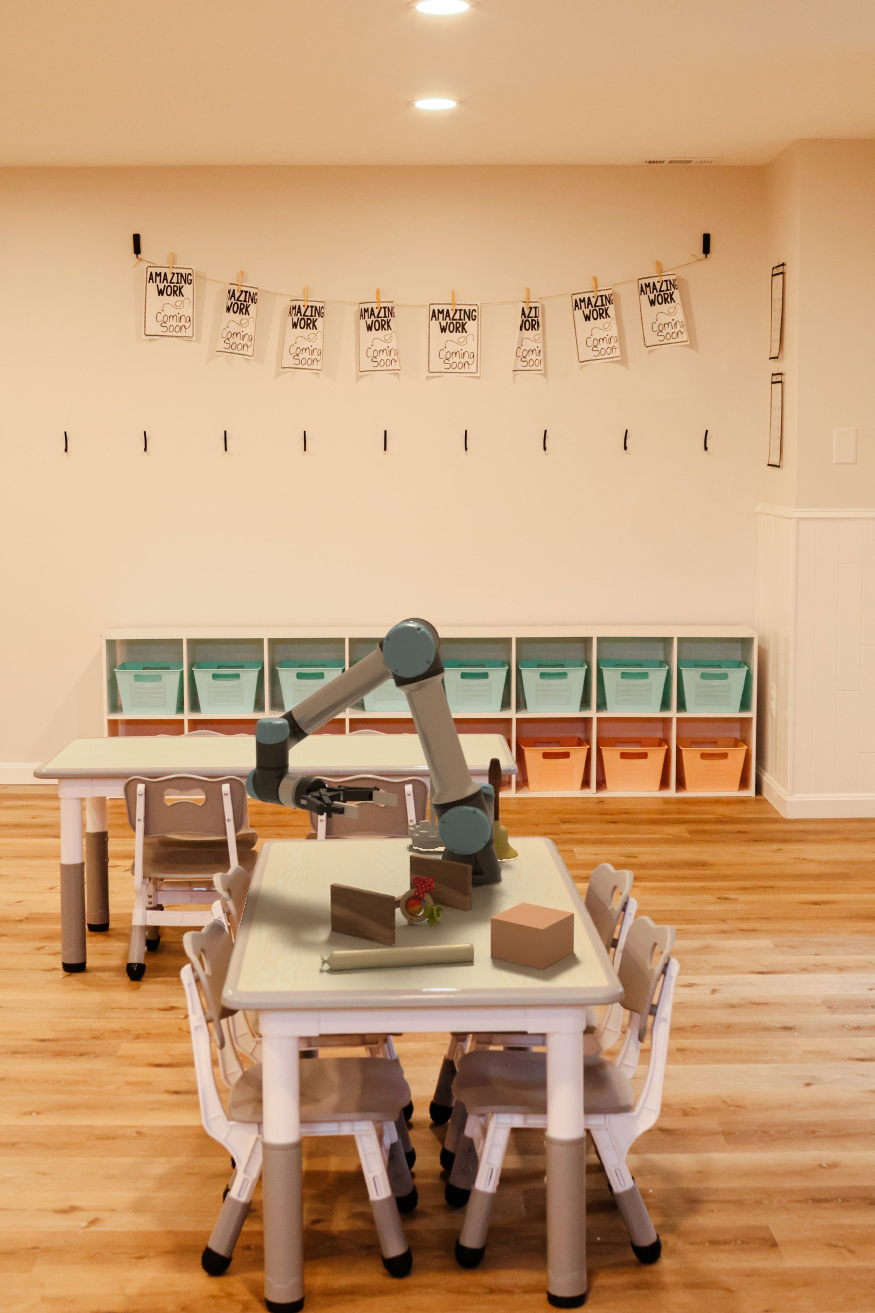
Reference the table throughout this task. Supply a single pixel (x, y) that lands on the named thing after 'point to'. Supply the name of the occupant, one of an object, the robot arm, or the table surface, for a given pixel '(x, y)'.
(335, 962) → the tan piece
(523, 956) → the terracotta stand
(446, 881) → the walnut slot
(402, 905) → the bird rattle
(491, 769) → the handbell
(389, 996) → the table surface
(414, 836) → the flag stand
